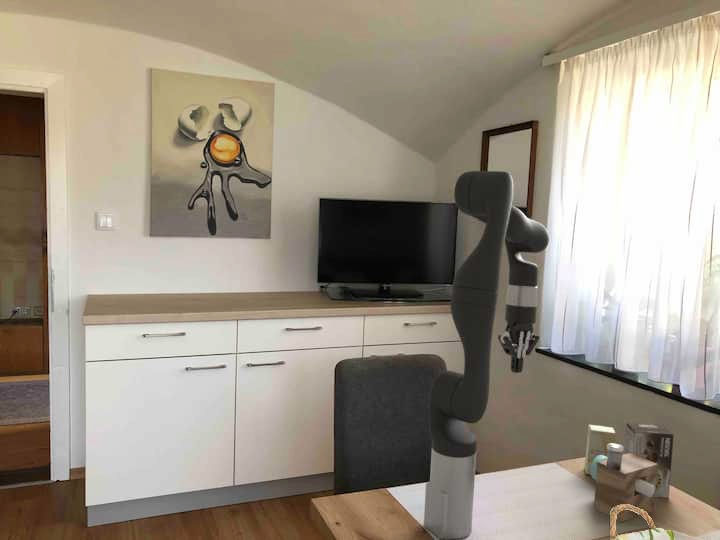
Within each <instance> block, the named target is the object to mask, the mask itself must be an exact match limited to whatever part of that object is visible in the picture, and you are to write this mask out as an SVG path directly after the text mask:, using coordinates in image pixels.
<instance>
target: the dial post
mask: <svg viewBox="0 0 720 540" xmlns="http://www.w3.org/2000/svg"><path fill="white" fill-rule="evenodd" d="M607 449H608V454H607V467H608V468H610V469H614V470H620V469H621V463H622V455H623V452H625V446H624V445H621V444H618V443H609V444H607Z"/></svg>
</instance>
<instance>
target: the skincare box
mask: <svg viewBox="0 0 720 540" xmlns="http://www.w3.org/2000/svg"><path fill="white" fill-rule="evenodd" d="M615 441H616V431H615V429H614V427H610V426H603V425H595V424H588V429H587V439H586V448H585V458H584V465H583V466H584V472H585V474H586V475H590V476H591V472H590V470H591V465H592V462H593V460H594V459H595V458H596V457H597V456H599V455H604V456H606V457H607V454H608V449H607V444H609V443H614V444H616V443H615Z"/></svg>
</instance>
